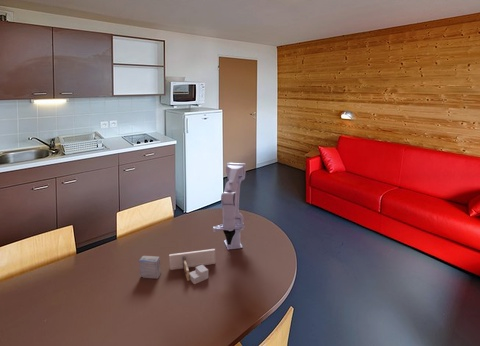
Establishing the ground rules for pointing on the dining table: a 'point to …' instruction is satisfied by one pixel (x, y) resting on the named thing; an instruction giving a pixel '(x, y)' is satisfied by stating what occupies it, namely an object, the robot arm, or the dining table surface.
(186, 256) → the wall shelf
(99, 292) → the dining table surface
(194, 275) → the pale grey notched block
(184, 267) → the door
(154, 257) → the medicine box
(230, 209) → the robot arm
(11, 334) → the dining table surface
